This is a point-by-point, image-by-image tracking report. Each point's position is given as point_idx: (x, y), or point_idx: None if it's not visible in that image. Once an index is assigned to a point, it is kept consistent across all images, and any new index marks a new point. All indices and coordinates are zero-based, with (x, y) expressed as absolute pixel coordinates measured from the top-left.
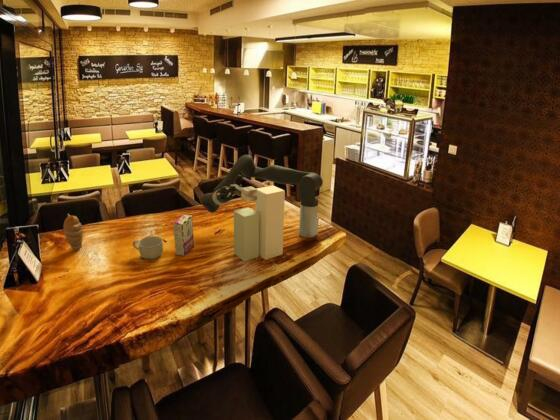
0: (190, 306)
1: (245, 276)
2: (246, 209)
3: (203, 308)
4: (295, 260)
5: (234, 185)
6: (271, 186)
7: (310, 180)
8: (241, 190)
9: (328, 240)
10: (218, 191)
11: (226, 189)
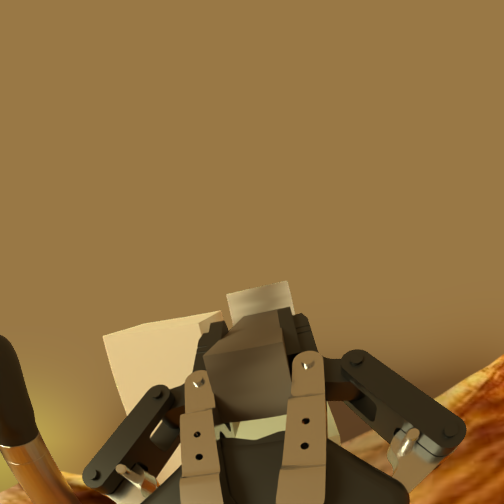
0: (471, 386)
1: (365, 456)
2: (263, 436)
3: (451, 388)
4: None
5: (249, 338)
6: (120, 333)
7: (10, 344)
8: (290, 294)
9: (81, 480)
10: (438, 405)
11: (346, 358)
